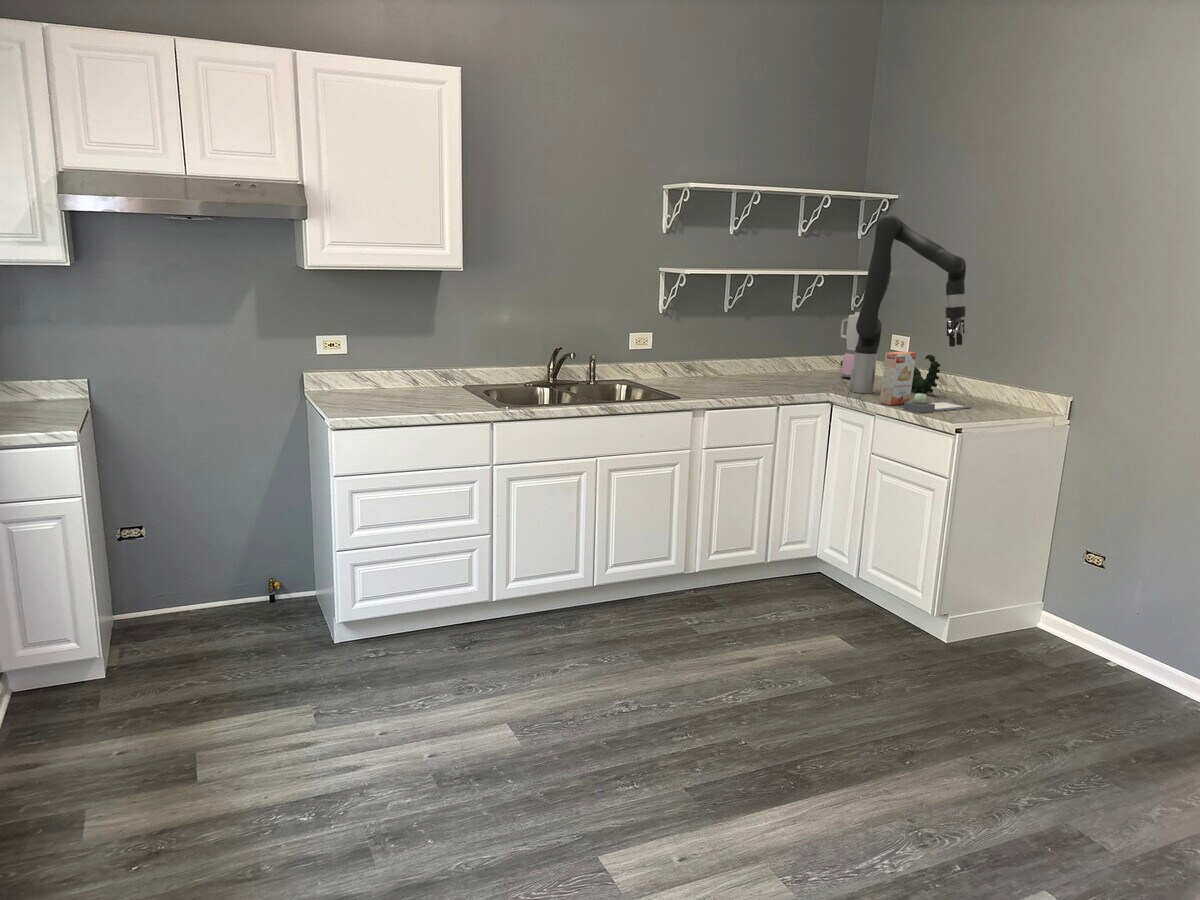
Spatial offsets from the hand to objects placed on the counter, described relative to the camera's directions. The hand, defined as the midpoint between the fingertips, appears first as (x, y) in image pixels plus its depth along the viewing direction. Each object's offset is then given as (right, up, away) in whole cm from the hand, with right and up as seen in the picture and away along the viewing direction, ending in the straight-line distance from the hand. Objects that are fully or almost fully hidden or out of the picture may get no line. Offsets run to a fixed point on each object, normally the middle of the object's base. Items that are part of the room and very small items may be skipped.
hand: (955, 345), depth 355 cm
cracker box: (-26, -24, -3) cm, 36 cm away
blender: (-23, -8, +69) cm, 73 cm away
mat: (-10, -26, -8) cm, 29 cm away
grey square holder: (-22, -28, -19) cm, 40 cm away
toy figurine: (-6, -17, +31) cm, 36 cm away
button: (-22, -25, -19) cm, 39 cm away
